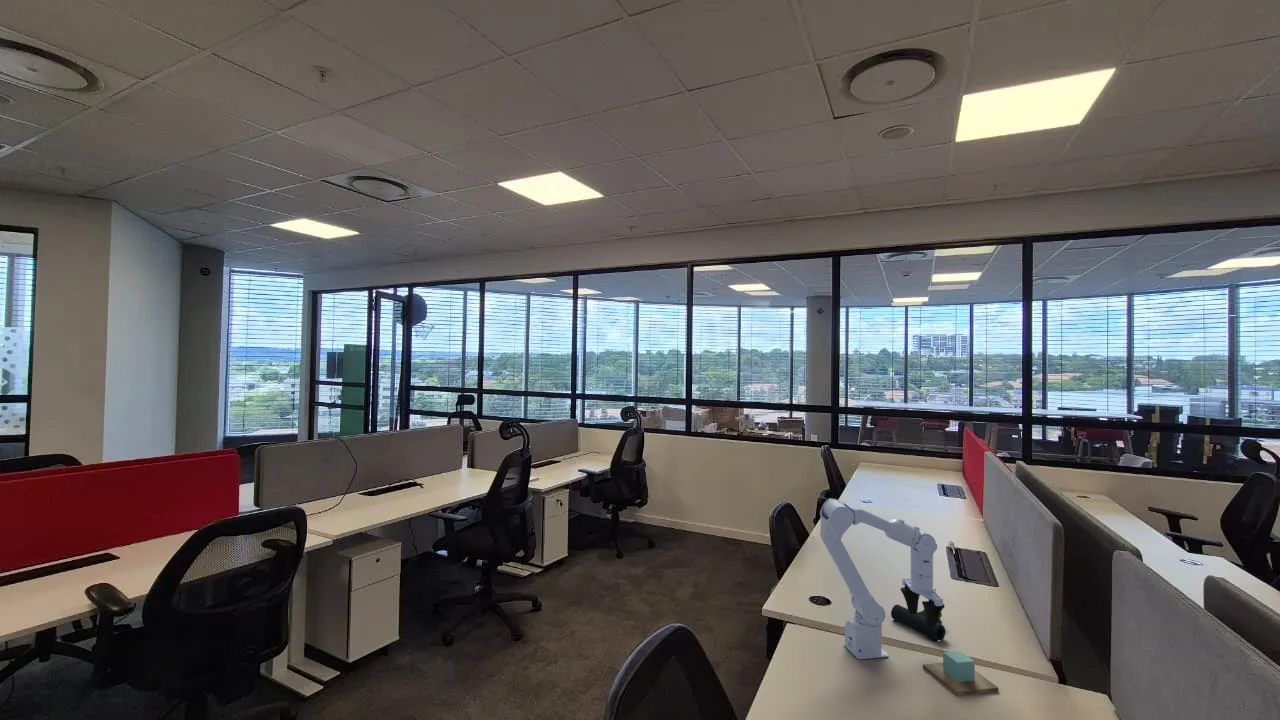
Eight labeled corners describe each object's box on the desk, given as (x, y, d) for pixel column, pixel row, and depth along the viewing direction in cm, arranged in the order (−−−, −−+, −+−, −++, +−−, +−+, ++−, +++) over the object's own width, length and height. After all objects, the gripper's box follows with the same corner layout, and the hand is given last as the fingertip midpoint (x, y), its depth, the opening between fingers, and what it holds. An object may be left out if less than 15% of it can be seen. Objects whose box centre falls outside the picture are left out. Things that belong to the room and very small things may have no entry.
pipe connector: (914, 598, 172) (958, 617, 159) (914, 614, 172) (959, 635, 159) (890, 605, 168) (934, 626, 154) (891, 622, 167) (934, 644, 154)
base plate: (956, 695, 129) (956, 679, 129) (923, 668, 141) (922, 653, 141) (998, 691, 131) (998, 675, 131) (962, 664, 142) (962, 650, 142)
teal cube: (957, 682, 133) (957, 662, 133) (943, 670, 138) (943, 652, 138) (974, 680, 133) (974, 661, 134) (959, 669, 138) (959, 650, 139)
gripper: (952, 582, 142) (953, 631, 142) (917, 562, 156) (917, 607, 156) (929, 583, 141) (930, 633, 141) (896, 563, 155) (896, 609, 155)
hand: (921, 620), depth 148 cm, fingers open, 7 cm apart
